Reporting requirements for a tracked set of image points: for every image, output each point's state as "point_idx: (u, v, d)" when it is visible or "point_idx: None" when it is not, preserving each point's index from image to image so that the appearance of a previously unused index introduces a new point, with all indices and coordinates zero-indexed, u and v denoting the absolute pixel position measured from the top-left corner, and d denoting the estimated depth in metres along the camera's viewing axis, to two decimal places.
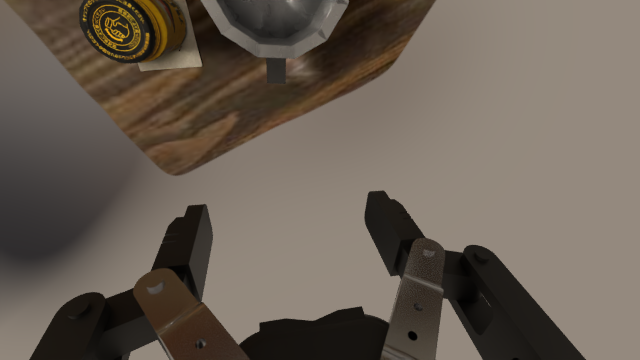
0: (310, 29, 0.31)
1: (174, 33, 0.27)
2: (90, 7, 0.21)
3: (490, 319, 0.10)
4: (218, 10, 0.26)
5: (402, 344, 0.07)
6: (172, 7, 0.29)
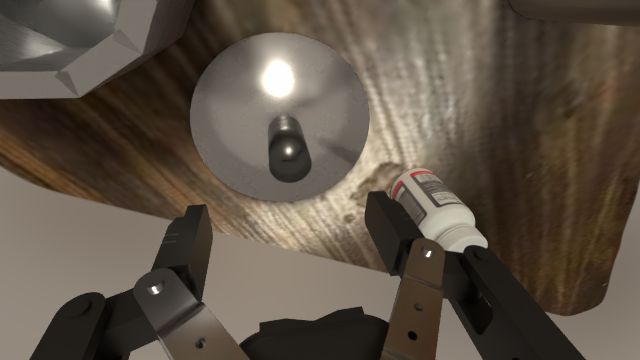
0: None
1: None
2: None
3: (490, 319, 0.10)
4: None
5: (402, 344, 0.07)
6: None
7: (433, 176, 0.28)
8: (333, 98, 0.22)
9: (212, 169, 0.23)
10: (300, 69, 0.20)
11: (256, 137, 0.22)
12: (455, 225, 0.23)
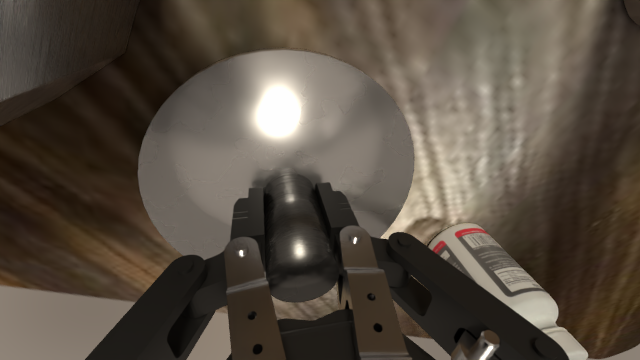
0: None
1: None
2: None
3: (423, 295, 0.11)
4: None
5: (373, 341, 0.07)
6: None
7: (487, 237, 0.21)
8: (363, 147, 0.14)
9: (180, 248, 0.15)
10: (315, 106, 0.12)
11: None
12: (539, 328, 0.16)
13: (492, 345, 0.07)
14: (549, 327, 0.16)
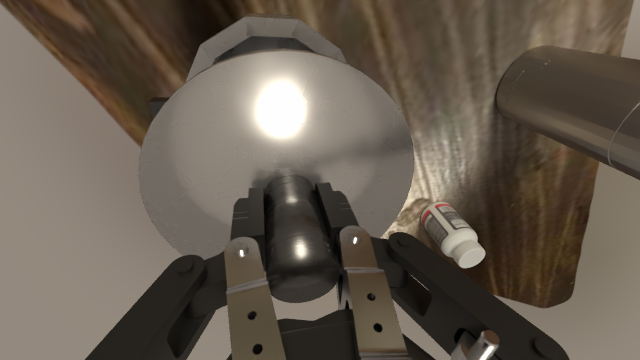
0: None
1: None
2: None
3: (423, 295, 0.11)
4: (227, 44, 0.20)
5: (373, 341, 0.07)
6: None
7: (450, 208, 0.43)
8: (363, 147, 0.14)
9: (180, 249, 0.15)
10: (315, 107, 0.13)
11: None
12: (466, 241, 0.38)
13: (492, 345, 0.07)
14: (470, 241, 0.38)
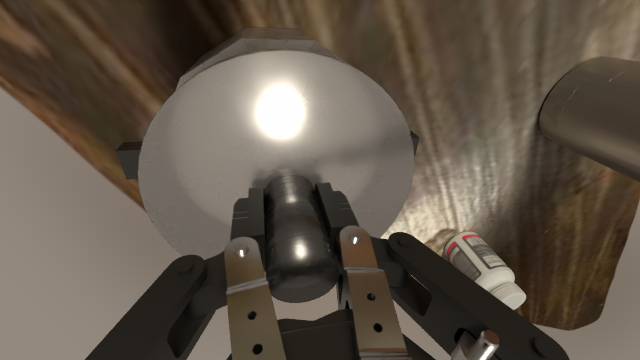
0: None
1: None
2: None
3: (423, 295, 0.11)
4: None
5: (373, 341, 0.07)
6: None
7: (480, 239, 0.38)
8: (363, 147, 0.14)
9: (180, 249, 0.15)
10: (315, 107, 0.13)
11: None
12: (503, 283, 0.33)
13: (492, 345, 0.07)
14: (508, 283, 0.33)
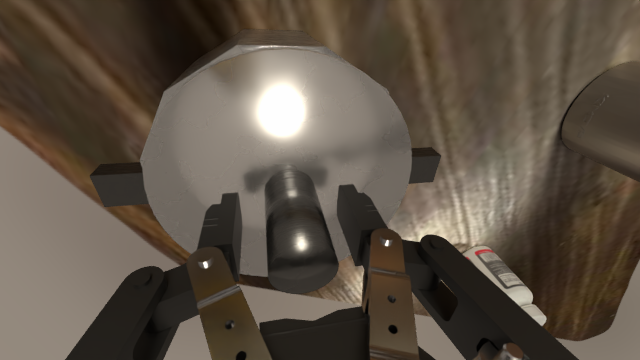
0: None
1: None
2: None
3: (452, 302, 0.11)
4: None
5: (386, 341, 0.07)
6: None
7: (493, 255, 0.35)
8: (362, 144, 0.15)
9: (183, 243, 0.16)
10: (315, 104, 0.13)
11: (248, 200, 0.15)
12: (521, 304, 0.30)
13: (513, 358, 0.07)
14: (527, 304, 0.30)
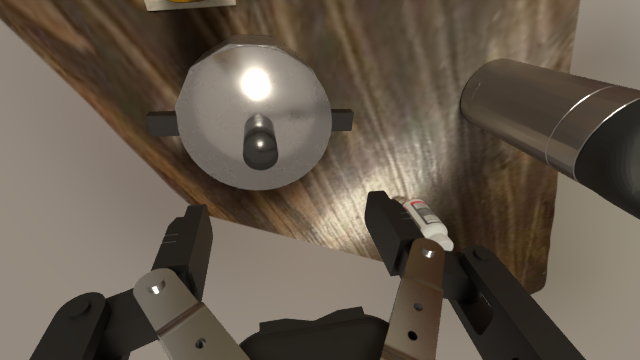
0: None
1: None
2: None
3: (490, 319, 0.10)
4: None
5: (402, 344, 0.07)
6: None
7: (424, 204, 0.47)
8: (299, 100, 0.26)
9: (196, 160, 0.27)
10: (270, 76, 0.24)
11: (234, 133, 0.26)
12: (436, 234, 0.42)
13: None
14: (440, 234, 0.42)
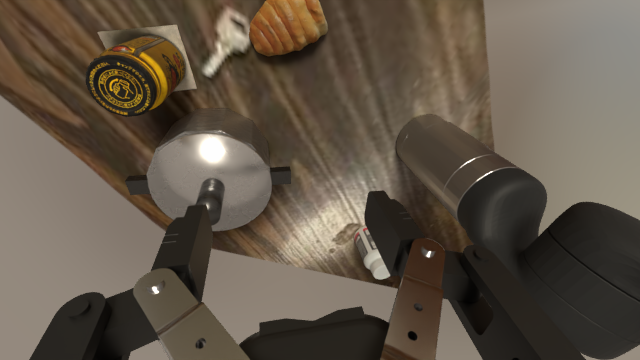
0: None
1: None
2: (132, 72, 0.23)
3: (490, 319, 0.10)
4: None
5: (402, 344, 0.07)
6: None
7: None
8: (243, 167, 0.33)
9: (165, 212, 0.35)
10: (217, 152, 0.32)
11: (194, 192, 0.34)
12: (379, 259, 0.49)
13: None
14: None
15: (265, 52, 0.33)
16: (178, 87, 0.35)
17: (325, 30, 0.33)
